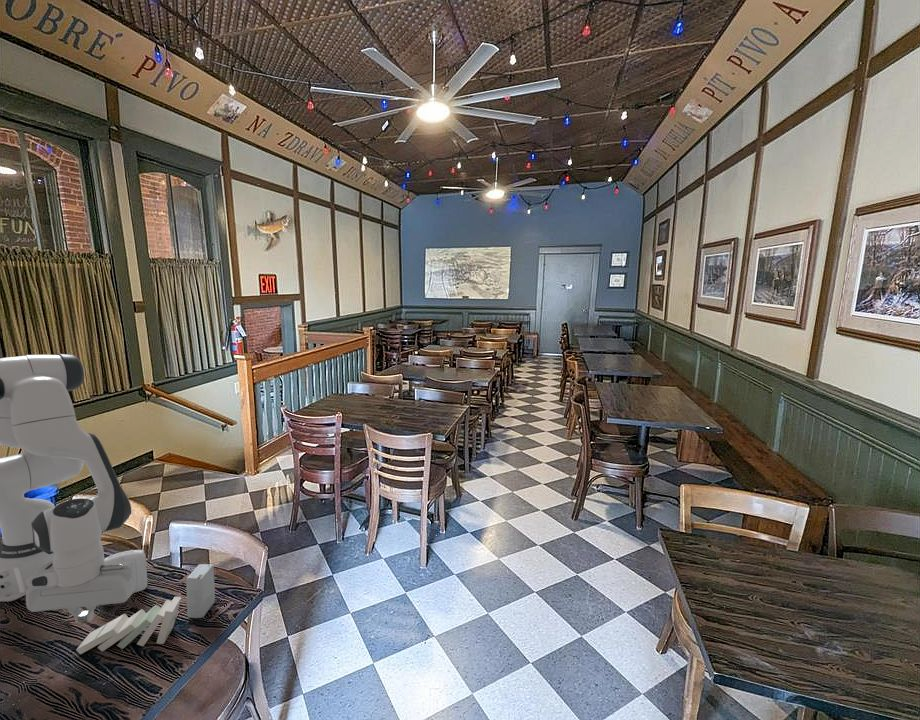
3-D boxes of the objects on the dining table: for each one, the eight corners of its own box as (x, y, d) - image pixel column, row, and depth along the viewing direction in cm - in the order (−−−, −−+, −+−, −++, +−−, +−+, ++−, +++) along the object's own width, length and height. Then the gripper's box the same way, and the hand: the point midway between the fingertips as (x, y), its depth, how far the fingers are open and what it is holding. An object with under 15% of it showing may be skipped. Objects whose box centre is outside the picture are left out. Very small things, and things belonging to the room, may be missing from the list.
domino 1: (75, 649, 97) (113, 628, 98) (89, 633, 102) (124, 613, 103) (80, 654, 97) (117, 633, 98) (93, 637, 102) (128, 618, 103)
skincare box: (200, 601, 115) (198, 563, 113) (216, 602, 115) (214, 563, 114) (186, 618, 109) (184, 578, 107) (203, 619, 109) (201, 578, 108)
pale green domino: (133, 632, 104) (161, 607, 105) (122, 649, 99) (151, 623, 100) (128, 629, 104) (155, 604, 104) (116, 645, 99) (145, 619, 99)
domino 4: (156, 643, 101) (165, 611, 100) (165, 627, 106) (174, 596, 105) (163, 644, 101) (172, 611, 100) (172, 628, 106) (181, 597, 105)
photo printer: (148, 581, 122) (145, 543, 120) (147, 590, 119) (144, 551, 117) (103, 593, 117) (100, 554, 115) (100, 603, 113) (97, 562, 111)
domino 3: (136, 644, 100) (157, 614, 100) (147, 628, 105) (166, 599, 105) (143, 646, 100) (163, 616, 100) (153, 630, 105) (173, 601, 105)
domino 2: (97, 647, 98) (130, 624, 99) (110, 631, 103) (141, 608, 104) (102, 651, 98) (135, 628, 99) (114, 635, 103) (146, 613, 104)
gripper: (137, 555, 102) (141, 605, 104) (39, 563, 97) (45, 615, 99) (122, 572, 96) (127, 624, 98) (17, 581, 91) (24, 636, 93)
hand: (85, 619), depth 98 cm, fingers closed
